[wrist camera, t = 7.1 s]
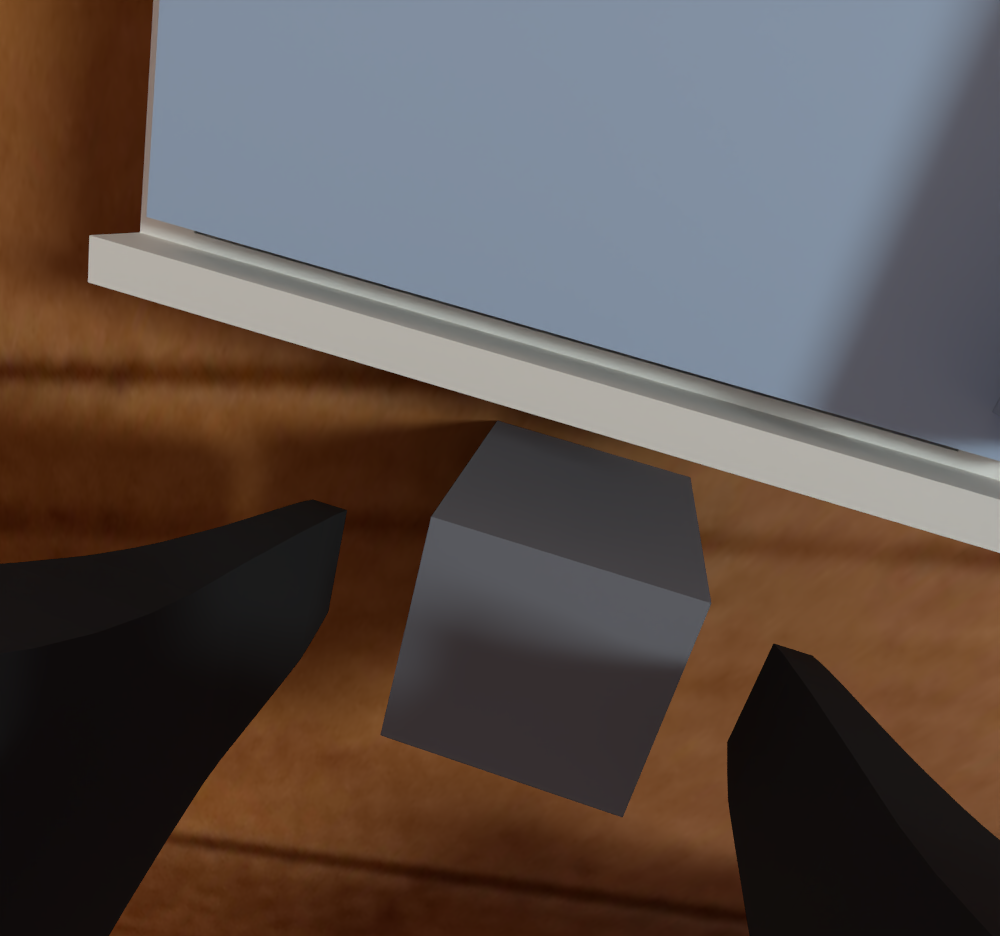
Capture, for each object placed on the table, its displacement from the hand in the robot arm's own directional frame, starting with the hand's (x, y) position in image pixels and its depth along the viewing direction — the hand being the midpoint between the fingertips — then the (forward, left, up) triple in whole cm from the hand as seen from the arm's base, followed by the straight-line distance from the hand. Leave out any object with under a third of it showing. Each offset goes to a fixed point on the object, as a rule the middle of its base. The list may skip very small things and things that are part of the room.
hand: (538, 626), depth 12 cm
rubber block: (0, 0, -4) cm, 4 cm away
